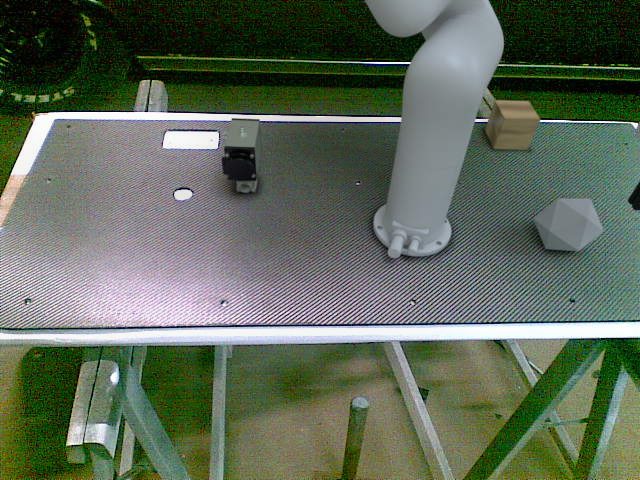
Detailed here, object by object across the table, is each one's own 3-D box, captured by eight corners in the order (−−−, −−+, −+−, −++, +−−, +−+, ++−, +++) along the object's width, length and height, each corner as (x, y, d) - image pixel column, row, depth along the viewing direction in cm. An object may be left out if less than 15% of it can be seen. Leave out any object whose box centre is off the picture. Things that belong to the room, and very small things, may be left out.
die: (579, 274, 73) (628, 222, 70) (538, 247, 71) (586, 192, 68) (551, 250, 81) (593, 203, 78) (513, 225, 79) (555, 175, 75)
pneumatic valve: (263, 166, 88) (260, 108, 80) (257, 208, 80) (252, 148, 71) (233, 165, 88) (227, 107, 80) (224, 207, 80) (216, 147, 71)
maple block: (527, 150, 96) (540, 119, 91) (493, 149, 96) (504, 118, 91) (517, 131, 101) (528, 101, 96) (484, 130, 100) (494, 99, 96)
